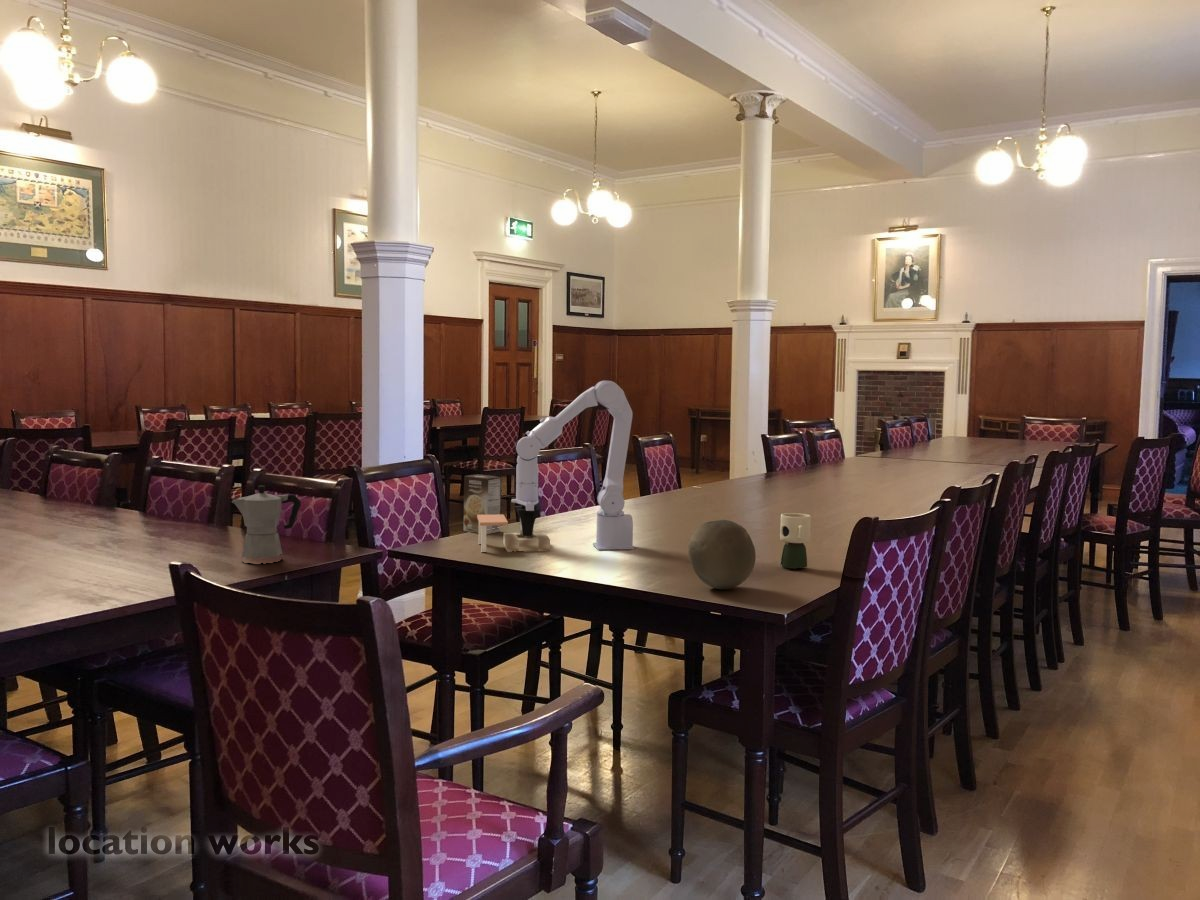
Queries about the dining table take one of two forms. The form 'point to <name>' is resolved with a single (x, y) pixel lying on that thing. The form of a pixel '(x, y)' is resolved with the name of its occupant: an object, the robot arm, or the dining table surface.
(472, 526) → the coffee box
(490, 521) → the peach and white stand
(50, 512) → the dining table surface
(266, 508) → the coffeepot
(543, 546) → the socket block
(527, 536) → the peg
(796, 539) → the character mug
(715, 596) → the dining table surface
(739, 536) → the cantaloupe
